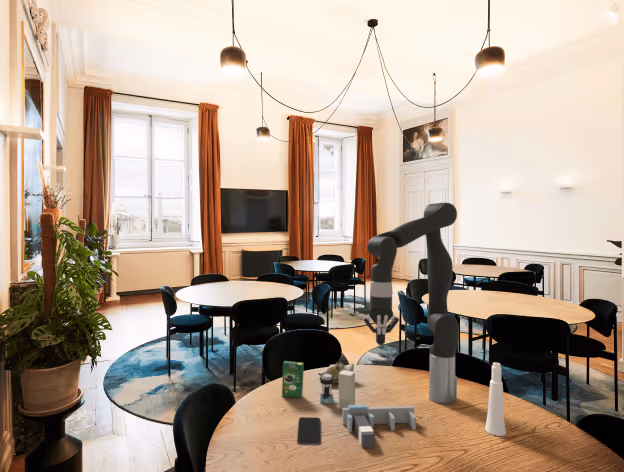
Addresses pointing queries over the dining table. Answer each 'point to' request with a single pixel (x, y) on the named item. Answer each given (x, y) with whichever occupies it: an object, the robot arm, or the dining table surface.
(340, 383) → the box
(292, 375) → the coffee box
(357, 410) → the grey pronged rack
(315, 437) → the smartphone
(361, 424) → the gray rectangular block
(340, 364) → the ceramic sculpture
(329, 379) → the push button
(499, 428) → the cosmetic bottle
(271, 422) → the dining table surface
